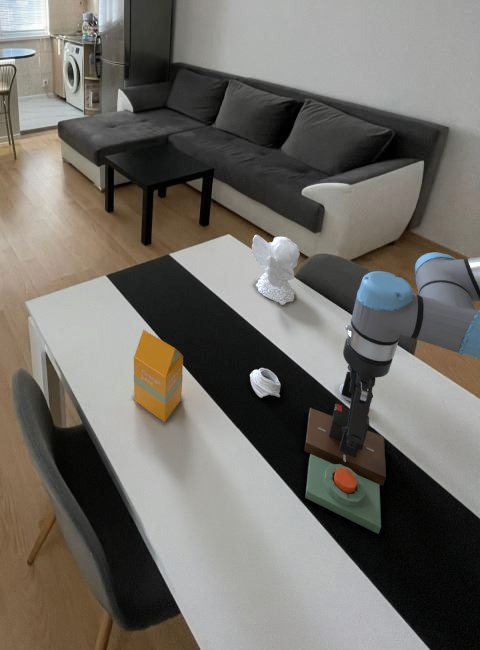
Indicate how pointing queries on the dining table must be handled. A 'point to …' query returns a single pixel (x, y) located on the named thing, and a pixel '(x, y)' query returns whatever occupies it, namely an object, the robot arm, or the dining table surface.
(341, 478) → the button
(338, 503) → the button block
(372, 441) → the panel
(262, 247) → the cherub figurine
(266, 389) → the white folded cloth ring
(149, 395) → the orange juice
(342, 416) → the red-tipped grey box
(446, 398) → the dining table surface
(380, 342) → the robot arm
